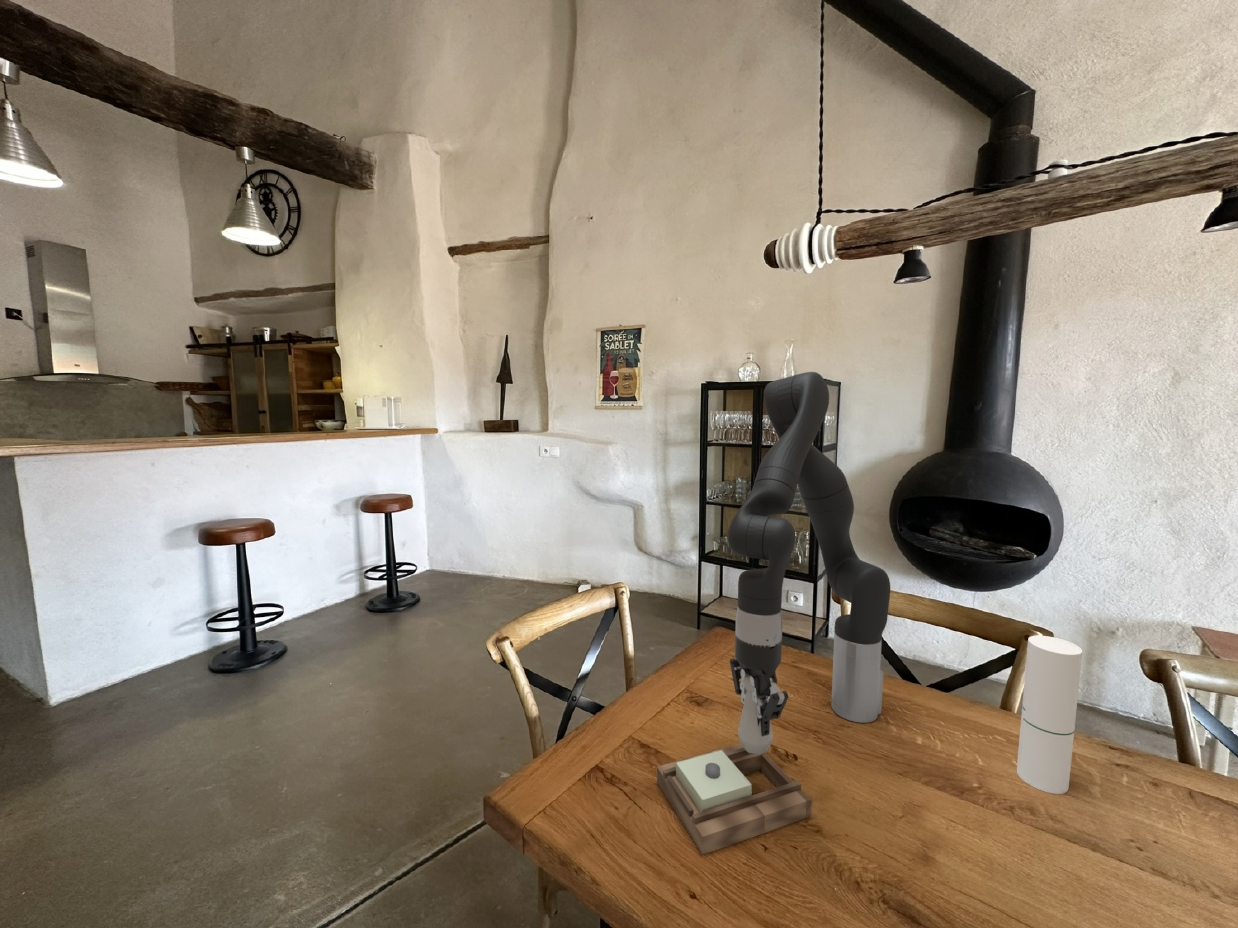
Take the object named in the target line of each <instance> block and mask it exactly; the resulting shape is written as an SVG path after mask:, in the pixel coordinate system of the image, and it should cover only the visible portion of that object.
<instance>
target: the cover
mask: <svg viewBox="0 0 1238 928" xmlns="http://www.w3.org/2000/svg"><path fill="white" fill-rule="evenodd" d="M676 777H677V778H678V780H679V781H680V783H681V784H682V786H683V787H684V789H685V790H686V792H687V793H688V794H689V796H690V797H691V799H692V800H693V802H694V803H695V805H696V806H697V808H698V809H699V811H700V812H702V811H705V810H708V809H712V808H715V807H718V806H721V805H724V804H727V803H730V802H733V801H736V800H739V799H743V798H746V797H749V796H752V788H753V787H752V783H751V782H750V781H749V780H748V778H747V777H746V775H743V774H742V773H741V772H740V771H739V769H738V768H737V767H736V766H735V765H734V764H733V763H732V761H731V760H730V759H729V758H728V757H727V756H726V755H725V753H724V752H723V751H722V750H720V751H716V752H713V753H709V754H706V755H702V756H698V757H695V758H691V759H688V760H684V761H680V762H677V763H676Z"/></svg>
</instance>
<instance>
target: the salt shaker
mask: <svg viewBox="0 0 1238 928" xmlns="http://www.w3.org/2000/svg"><path fill="white" fill-rule="evenodd" d="M750 677H751V675H747V676H746V677H745V678H744V681H743V685H744V687H745V689H746V690H747V691H746V695H745V700H744V705H743V704H742V711H741V716H740V721H739V724H738V730H737V736H738V739H739V741H740V744H742V746H743V747H744V749H745V750H746V751H747V752H748V753H752V754H757V755H760V754H762V753H764V752H765V753H766V752H767V751H768V750H769V748H770V746H771V744H772V743H773V740H774V739H773V737H774V736H773V730H772V723H771V721H770V729H769V730H770V732H769V735H766V736H762V734H761V723H759V726H758V722H757V715H756V704H755V703H754V702H753V698H752V693H753V686H751V684H750ZM764 696H765V695H764ZM760 697H763V696H759V698H760ZM765 708H766V703H765V704H763V705H762V709H765ZM765 731H766V730H765ZM765 731H764V732H765Z"/></svg>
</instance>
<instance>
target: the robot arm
mask: <svg viewBox="0 0 1238 928" xmlns="http://www.w3.org/2000/svg"><path fill="white" fill-rule="evenodd" d="M763 401H764V406H765V410H766V412H767V416H768V417H769V420H770V422H771V425H772V426H773V429H774V431H775V434H776V435H777V438H778V440H777V441H776V442H775V443H774V444H773V445H772V446H771V448H770V449H768V451H767V453H766V454H765V455H764V457H763V458H762V460H761V462H760V464H759V466H758V469H757V473H756V477H755V480H754V483H753V485H752V489H751V491H750V493H749V495H747V497H746V499H745V501H744V502H743V504H742V505H741V506H740V508H739V509H738V511H737V512H736V513H735V514H734V516H733V518H732V520H731V522H730V524H729V527H728V532H727V544H728V547H729V548H730V550H731V552H733V554H735V555H737V556H740V557H747V558H751V559H757V560H766V561H768V566H767V567H765V568H754V569H753V568H752V569H747V570H744V571H742V572H741V573H740V574H739V576H738V584H737V608H736V609H737V610H736V616H735V632H734V634H735V636H734V638H735V640H734V641H735V642H734V656H735V657H734V658H730V660H729V666H730V670H731V676H732V681H733V687H734V691H735V694H736V695H739V696H740V701H741V703H742V706H743V705H744V700H745V695H746V691H747V690H746V689H745V687H744V685H743V681H744V678H745V677H746V676H747V675H751V677H750V684H751V686H753V693H752V698H753V702H754V703H755V704H756V715H757V722H758V726H759V723H761V734H762V736H766V735H769V732H770V730H769V729H770V722H771V720H776V719H780V717H781V715H782V712H783V711H784V708H785V706H786V704H787V701H788V699H789V693H788V692H787V691H786V690H783V691H781V689H780V687H779V686H778V678H777V674H776V670H777V668H778V667H780V665H781V662H782V648H783V647H782V646H783V645H782V644H783V643H782V642H783V616H782V600H783V599H782V598H783V584H784V578H785V574H786V570H787V567H788V565H789V561H790V558H791V557H792V553H793V550H794V548H795V544H796V538H797V537H796V536H797V535H796V530H795V528H794V526H793V524H792V523H791V522H790V521H789V520H788V519H786V518H782V517H777V516H775V515H781V514H782V515H783V514H785V513H787V512H789V510H791V509H792V506H793V504H794V501H795V500H794V499H795V496H796V491H797V488H798V490H799V493H800V496H801V499H802V502H803V504H804V507H805V511H806V512H807V515H808V517H809V519H810V522H811V525H812V528H813V532H814V535H815V537H816V540H817V543H818V545H819V549H820V553H821V555H822V561H823V565H824V570H825V573H826V578H827V582H828V584H829V586H830V589H831V590H832V592H833V593H834V594H835V595H836V596H837V597H839V598H841V599H843V600H845V601H846V602H848V603H850V610H849V614H842V615H839V616H838V617H837V618H836V619H835V621H834V633H833V658H832V662H833V663H832V683H831V686H832V687H831V707H830V708H831V709H832V710H833V712H834V713H835V714H836V715H838V716H839V717H840V718H843V719H845V720H847V721H851V722H855V723H860V724H864V723H865V724H867V723H872V722H874V721H876V719H878V715H882V707H883V690H884V689H883V688H884V670H882V669H881V662H882V661H881V658H882V642H883V641H882V640H883V633H884V630H885V628H886V626H887V622H888V616H889V608H890V607H889V606H890V599H891V597H890V596H891V582H890V578H889V575H888V573H887V572H886V571H885V570H884V569H883V568H881V567H879V566H877V565H874V564H871V563H870V562H867V561H864V560H861V559H860V558H859V556H858V554H857V553H856V550H855V549H854V546H853V543H852V539H851V536H850V535H851V534H850V528H851V525H852V522H853V517H854V512H855V503H854V499H853V495H852V493H851V489H850V487H849V484H848V480H847V477H846V475H845V473H844V472H843V470H842V469H841V468H840V467H839V466H838V465H837V464H836V463H834V461H832V460H831V459H830V458H829V457H828V456H827V455H825V453H823V452H821V451H820V449H818V448H817V447H815V445H813V443H814V441H815V440H816V437H817V436H818V432H819V430H820V429H821V426H822V424H823V422H824V419H825V417H826V415H827V412H828V409H829V404H830V390H829V386H828V384H827V382H826V380H825V378H824V377H823V376H822V375H821V374H820V373H818V372H815V371H806V372H802V373H798V374H794V375H791V376H787V377H783V378H779V379H777V380H773V381H771V382H768V383H767V384H766V386H765V388H764V392H763ZM764 695H765V696H764ZM759 696H763V697H760V698H759ZM765 703H766V708H765V709H762V705H763V704H765ZM765 730H766V731H765ZM764 731H765V732H764Z"/></svg>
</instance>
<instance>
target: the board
mask: <svg viewBox="0 0 1238 928" xmlns="http://www.w3.org/2000/svg"><path fill="white" fill-rule="evenodd" d="M720 750H722V751H723V752H724V753H725V755H726V756H727V757H728V758H729V759H730V760H731V761H732V763H733V764H734V765H735V766H736V767H737V768H738V769H739V771H740V772H741V773H742V774H743V775H744V776H746V775H749V774H751V773H755V772H757V771H758V772H759V771H761V772H762V773H763V774H764V775H765V776H766V777H767V778H768V779H769V780H770V781H771V782H772V783H773V785H774V786H775V788H774V787H773V788H770V789H768V790H765V791H762V792H759V793H755V794H751V796H749V797H746V798H743V799H739V800H736V801H733V802H730V803H727V804H724V805H721V806H718V807H715V808H712V809H708V810H705V811H702V812H700V811H699V809H698V808H697V806H696V805H695V803H694V802H693V800H692V799H691V797H690V796H689V794H688V793H687V792H686V790H685V789H684V787H683V786H682V784H681V783H680V781H679V780H678V778H677V777H676V763H677V762H680V761H684V760H688V759H691V758H695V757H698V756H702V755H706V754H709V753H713V752H716V751H720ZM656 784H657V785H658V786H659V788H660V790H661V792H662V793H663V795H664V796H665V798H666V799H667V801H668V803H669V804H670V806H671V808H673V810H674V812H675V813H676V815H677V817H678V819H679V820H680V822H681V823H682V826H684V828H685V831H687V833H688V835H689V837H690V838H691V839H692V841H693V843H694V844H695V846H696V847H697V849H698V850H699V852H700V854H701V855H702V856H703V855H706V854H707V855H708V854H710V853H712V852H715V851H717V850H718V851H719V850H721V849H724V848H726V847H729V846H732V845H735V844H737V843H741V842H743V841H747V840H749V839H751V838H754V837H757V836H760V835H763V834H767V833H768V832H772V831H774V830H777V829H780V828H783V827H786V826H788V825H791V824H795V823H797V822H799V821H803V820H805V819H808V818H811V816H812V798H810V797H809V795H807V793H806V792H805V791H803V790H802V785H803V784H802V782H800V780H796V781H794V780H793V779H792V778H791V777H790V776H789V775H788V774H787V773H785V771H784V770H783V769H782V768H781V767H780V766H779V765H778V764H777V763H776V762H775V761H774V760H773V759H772V758H771V757H770V756H769V755H768V754H767V753H766V752H764V753H762V754H760V755H757V754H752V753H748V752H747V751H746V750H745V749H744V747H743V746H742V744H741V743H738V744H734V745H733V744H732V745H730V746H727V747H723V748H719V749H716V750H712V751H709V752H705V753H702V754H698V755H694V756H690V757H687V758H683V759H680V760H677V761H672V762H669V763H665V764H662V765H658V766H656Z"/></svg>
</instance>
